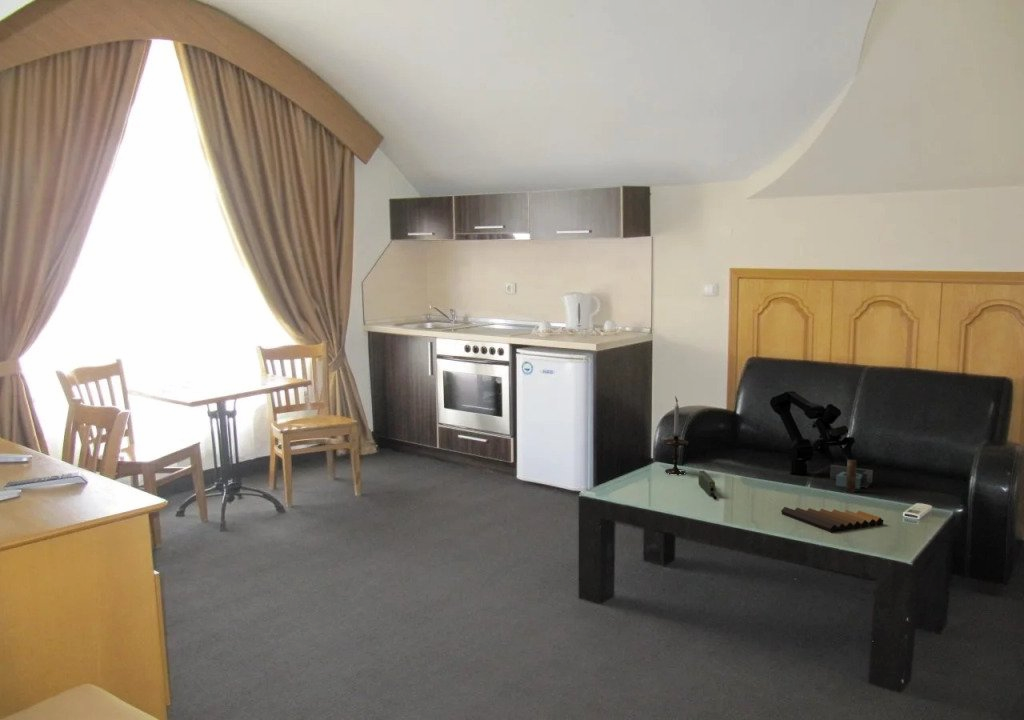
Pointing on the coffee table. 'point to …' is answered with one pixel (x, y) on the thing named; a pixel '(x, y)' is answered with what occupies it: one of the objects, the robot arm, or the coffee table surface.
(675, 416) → the candlestick
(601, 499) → the coffee table surface
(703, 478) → the handheld radio
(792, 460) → the robot arm
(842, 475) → the socket block
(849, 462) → the dowel
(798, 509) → the pan flute
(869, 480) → the corner stop
